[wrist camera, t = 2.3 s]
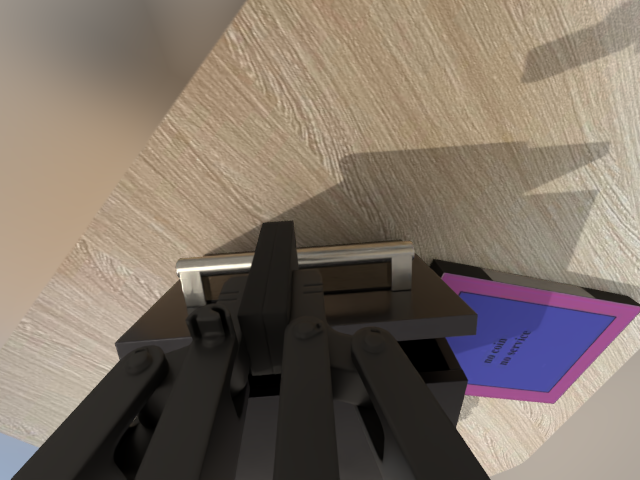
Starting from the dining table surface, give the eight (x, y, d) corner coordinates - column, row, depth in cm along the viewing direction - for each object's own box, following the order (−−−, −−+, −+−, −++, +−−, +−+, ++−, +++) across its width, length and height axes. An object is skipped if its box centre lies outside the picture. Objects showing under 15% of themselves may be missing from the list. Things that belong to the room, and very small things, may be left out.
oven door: (198, 224, 36) (97, 290, 19) (401, 208, 36) (482, 260, 19) (206, 266, 37) (120, 363, 20) (401, 251, 38) (476, 335, 21)
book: (553, 403, 51) (385, 387, 46) (541, 387, 53) (380, 370, 48) (644, 307, 41) (443, 272, 36) (623, 293, 44) (433, 259, 39)
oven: (207, 267, 38) (139, 406, 22) (400, 252, 38) (468, 380, 22) (236, 365, 47) (201, 515, 31) (393, 352, 47) (438, 495, 31)
